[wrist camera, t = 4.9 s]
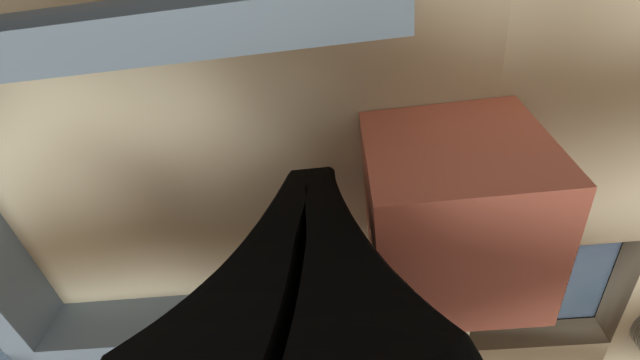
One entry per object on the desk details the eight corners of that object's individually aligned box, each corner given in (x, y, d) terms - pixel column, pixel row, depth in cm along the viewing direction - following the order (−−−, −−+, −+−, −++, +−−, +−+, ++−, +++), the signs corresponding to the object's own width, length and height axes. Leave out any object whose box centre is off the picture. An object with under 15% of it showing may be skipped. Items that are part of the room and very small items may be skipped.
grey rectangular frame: (403, 298, 15) (412, 347, 14) (51, 322, 17) (20, 370, 15) (399, -39, 9) (414, -21, 8) (-166, 35, 10) (-258, 64, 9)
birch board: (679, 340, 19) (699, 366, 18) (108, 373, 21) (97, 398, 20) (966, -149, 9) (1045, -153, 8) (-154, 4, 11) (-201, 16, 10)
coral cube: (497, 215, 13) (554, 326, 10) (367, 226, 14) (381, 337, 10) (515, 95, 11) (597, 187, 8) (358, 112, 11) (373, 206, 8)
